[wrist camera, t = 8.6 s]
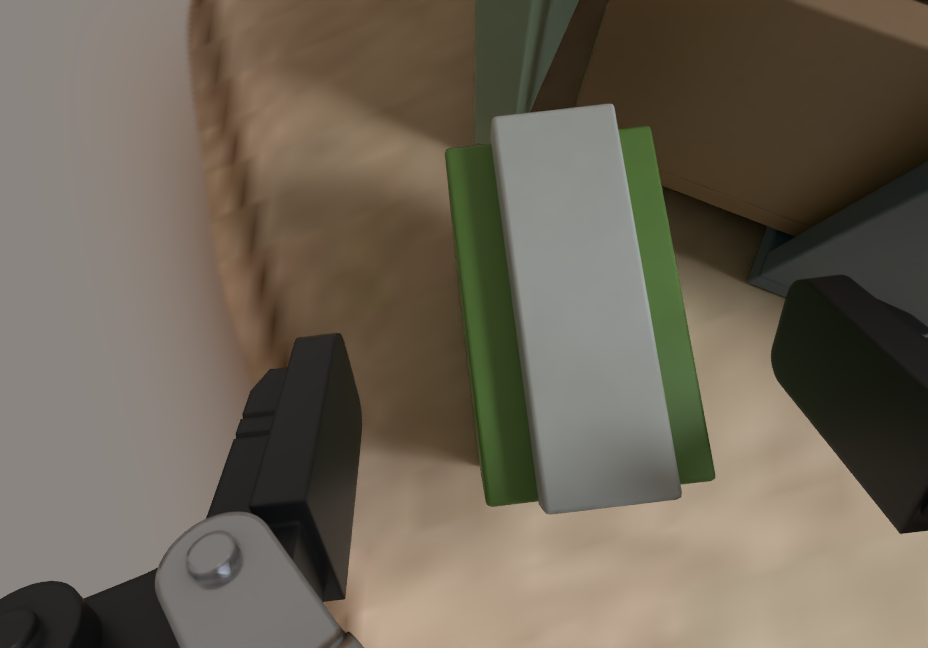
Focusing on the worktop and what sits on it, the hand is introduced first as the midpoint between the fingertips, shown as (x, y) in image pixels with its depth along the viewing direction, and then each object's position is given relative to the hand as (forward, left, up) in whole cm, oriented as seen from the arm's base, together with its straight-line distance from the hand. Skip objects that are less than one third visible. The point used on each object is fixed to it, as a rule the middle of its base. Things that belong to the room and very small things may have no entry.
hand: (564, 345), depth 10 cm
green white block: (0, 0, -7) cm, 7 cm away
